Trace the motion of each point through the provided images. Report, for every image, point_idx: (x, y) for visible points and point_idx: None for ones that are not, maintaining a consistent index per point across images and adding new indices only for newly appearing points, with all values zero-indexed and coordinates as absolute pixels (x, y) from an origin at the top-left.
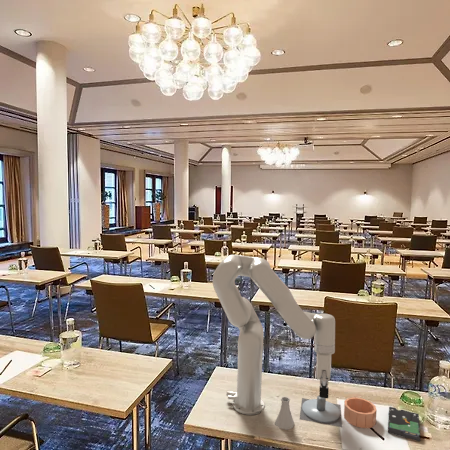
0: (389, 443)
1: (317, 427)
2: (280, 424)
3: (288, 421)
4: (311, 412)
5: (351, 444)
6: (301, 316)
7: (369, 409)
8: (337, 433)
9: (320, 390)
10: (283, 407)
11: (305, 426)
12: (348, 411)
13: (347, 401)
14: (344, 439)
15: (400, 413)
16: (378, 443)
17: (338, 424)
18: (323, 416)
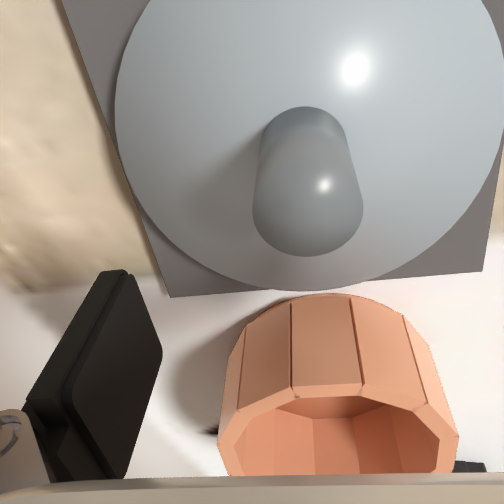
0: (191, 447)
1: (80, 138)
2: None
3: None
4: (188, 70)
5: (62, 333)
6: None
7: (389, 447)
8: (109, 268)
9: (66, 354)
10: None
11: (17, 35)
12: (246, 385)
13: (372, 394)
14: (79, 303)
15: None
16: (161, 419)
17: (185, 278)
18: (188, 188)
